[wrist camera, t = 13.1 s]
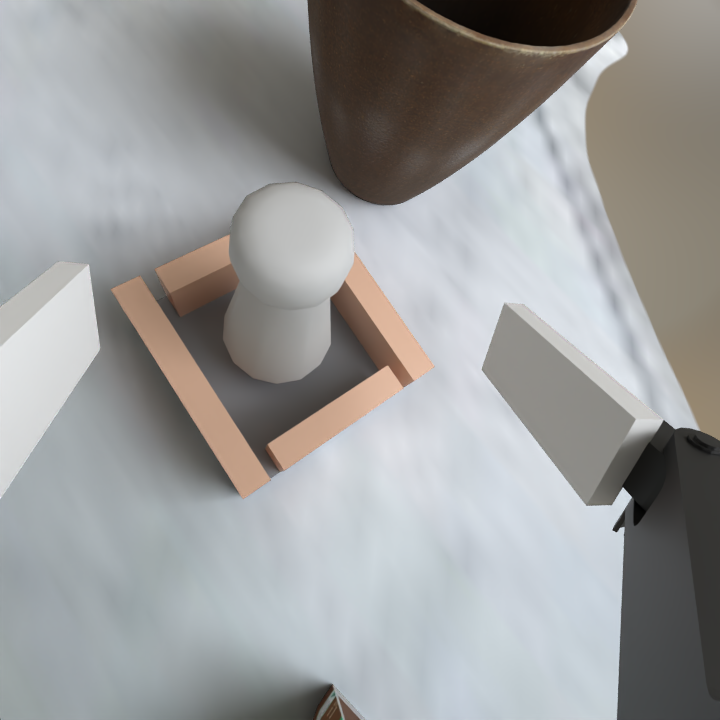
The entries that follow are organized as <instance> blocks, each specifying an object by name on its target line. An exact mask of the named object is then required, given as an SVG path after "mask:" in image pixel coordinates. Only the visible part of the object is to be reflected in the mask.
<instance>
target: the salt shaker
mask: <svg viewBox="0 0 720 720" xmlns="http://www.w3.org/2000/svg"><path fill="white" fill-rule="evenodd" d="M229 257H230V262H231V264H232V266H233V268H234V270H235V272H236V274H237V276H238V278H239V280H240V281H239V284H238V286H237V288H236V290H235V293H234V295H233V297H232V300H231V302H230V304H229V306H228V309H227V311H226V313H225V316H224V329H223V341H224V343H225V345H226V347H227V350H228V352H229V354H230V356H231V358H232V361H233V362H234V363H235V364H236V365H237V366H238V367H240V368H241V369H242V370H243V371H245V372H246V373H247V374H248V375H249V376H251V377H252V378H254V379H258V380H262V381H266V382H270V383H274V384H279V383H284V382H290V381H296V380H300V379H302V378H303V377H305V376H306V375H307V374H309V373H310V372H311V371H313V370H314V369H315V368H316V367H318V366H319V365H320V364H321V362H322V360H323V358H324V357H325V355H326V353H327V351H328V349H329V347H330V345H331V322H330V297H331V296H333V295H334V294H336V293H337V292H338V290H339V289H340V287H341V286H342V284H343V282H344V280H345V279H346V277H347V275H348V273H349V271H350V269H351V268H352V266H353V264H354V229H353V227H352V225H351V223H350V221H349V219H348V217H347V215H346V213H345V211H344V209H343V207H341V206H340V205H339V204H338V203H336V202H335V201H334V200H333V199H332V198H330V197H329V196H328V195H327V194H325V193H324V192H323V191H321V190H318V189H315V188H313V187H310V186H307V185H304V184H301V183H298V182H288V183H275V184H268V185H266V186H264V187H263V188H261V189H259V190H257V191H255V192H253V193H251V194H249V195H247V196H246V197H245V199H244V201H243V202H242V204H241V205H240V207H239V208H238V210H237V211H236V213H235V214H234V216H233V219H232V222H231V226H230V239H229Z"/></svg>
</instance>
